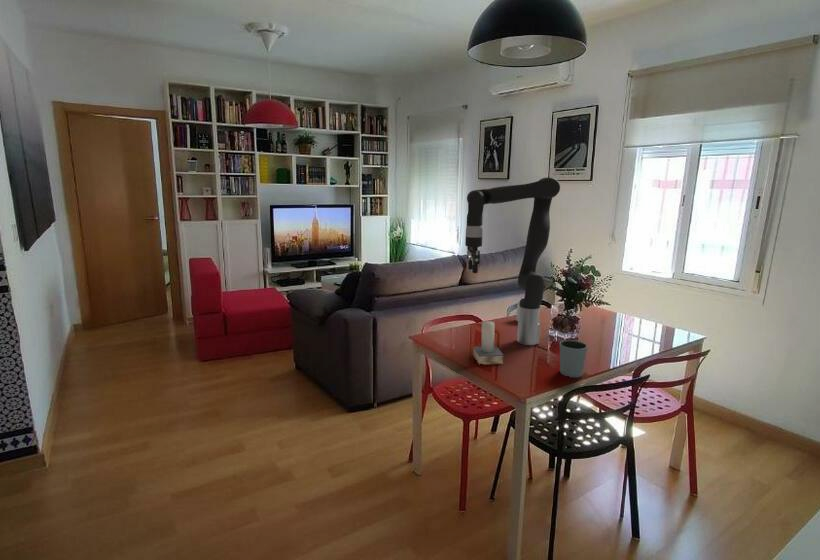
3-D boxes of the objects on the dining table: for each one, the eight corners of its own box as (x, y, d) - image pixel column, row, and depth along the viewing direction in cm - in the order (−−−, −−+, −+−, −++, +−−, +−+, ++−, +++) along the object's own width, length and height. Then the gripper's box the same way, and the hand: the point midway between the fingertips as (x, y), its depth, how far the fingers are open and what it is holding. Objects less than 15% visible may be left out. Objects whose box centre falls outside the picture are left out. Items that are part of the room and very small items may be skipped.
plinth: (495, 354, 196) (496, 345, 195) (502, 363, 187) (503, 354, 186) (473, 355, 195) (473, 346, 194) (478, 364, 186) (479, 355, 185)
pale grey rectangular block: (491, 347, 193) (492, 320, 191) (495, 352, 188) (496, 324, 186) (479, 348, 192) (480, 321, 190) (483, 352, 187) (484, 325, 185)
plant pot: (588, 378, 173) (591, 349, 171) (561, 378, 173) (564, 348, 171) (579, 368, 183) (582, 339, 180) (554, 367, 183) (556, 339, 181)
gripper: (486, 237, 197) (484, 274, 200) (478, 233, 211) (476, 268, 214) (469, 237, 196) (468, 274, 200) (462, 233, 210) (461, 268, 213)
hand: (472, 271), depth 207 cm, fingers open, 8 cm apart
